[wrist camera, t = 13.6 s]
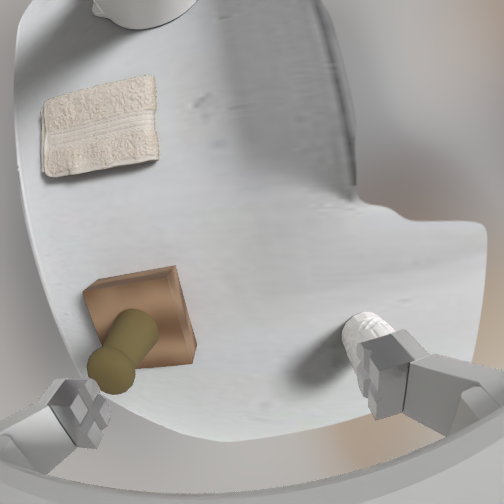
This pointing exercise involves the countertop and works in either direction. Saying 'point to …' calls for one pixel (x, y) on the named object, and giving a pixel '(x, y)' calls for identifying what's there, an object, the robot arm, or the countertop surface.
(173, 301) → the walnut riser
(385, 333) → the white cup
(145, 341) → the olive tapered upright piece
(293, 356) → the countertop surface
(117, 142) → the washcloth
